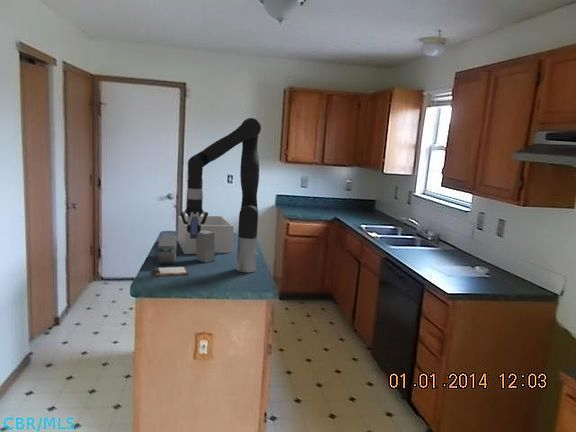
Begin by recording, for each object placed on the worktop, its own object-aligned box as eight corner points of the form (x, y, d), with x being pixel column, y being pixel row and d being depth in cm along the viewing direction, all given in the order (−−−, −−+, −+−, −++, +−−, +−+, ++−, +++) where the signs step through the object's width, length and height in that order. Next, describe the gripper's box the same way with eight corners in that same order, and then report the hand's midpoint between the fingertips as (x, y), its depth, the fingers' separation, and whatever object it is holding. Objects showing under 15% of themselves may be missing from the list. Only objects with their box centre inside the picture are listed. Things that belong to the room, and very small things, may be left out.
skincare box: (214, 261, 238) (216, 232, 235) (203, 263, 232) (205, 233, 230) (205, 257, 243) (206, 229, 241) (194, 259, 238) (195, 230, 235)
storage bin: (220, 240, 286) (221, 216, 284) (232, 252, 258) (233, 225, 255) (177, 241, 277) (178, 215, 274) (184, 253, 248) (185, 225, 245)
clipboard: (185, 268, 221) (185, 264, 221) (188, 275, 211) (188, 271, 211) (153, 269, 216) (154, 265, 215) (155, 276, 206) (155, 272, 205)
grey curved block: (173, 267, 221) (174, 246, 220) (157, 267, 220) (157, 245, 218) (176, 254, 246) (177, 235, 244) (161, 254, 244) (162, 234, 242)
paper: (183, 267, 220) (183, 266, 220) (186, 272, 211) (186, 272, 211) (158, 268, 215) (158, 267, 215) (160, 273, 207) (160, 273, 207)
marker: (196, 237, 221) (197, 213, 219) (198, 238, 217) (198, 214, 215) (189, 237, 219) (189, 213, 217) (190, 238, 216) (190, 214, 214)
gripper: (207, 196, 221) (206, 230, 224) (178, 196, 216) (177, 231, 219) (210, 198, 214) (209, 234, 217) (180, 198, 209) (179, 234, 212)
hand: (193, 232), depth 218 cm, fingers closed on marker, 3 cm apart
